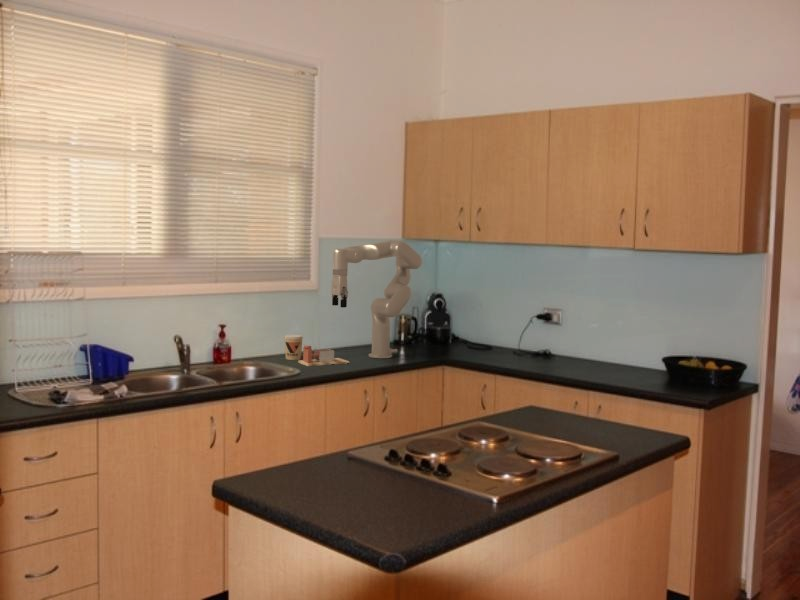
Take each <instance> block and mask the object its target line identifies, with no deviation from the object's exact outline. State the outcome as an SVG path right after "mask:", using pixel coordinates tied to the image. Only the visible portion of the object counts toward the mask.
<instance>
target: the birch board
mask: <svg viewBox="0 0 800 600" xmlns="http://www.w3.org/2000/svg"><path fill="white" fill-rule="evenodd" d="M297 363H299V364H301V365H303V366H306V367H317V366H330V365H331V364H335V365H346V364H347V363H349V364H350V361H349V360H347V359H343V358H341V357H334V362H317V361H315V360H314V358H312V363H306V362H304V361H303V359H299V360H297ZM347 365H348V364H347ZM331 366H332V365H331Z"/></svg>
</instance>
